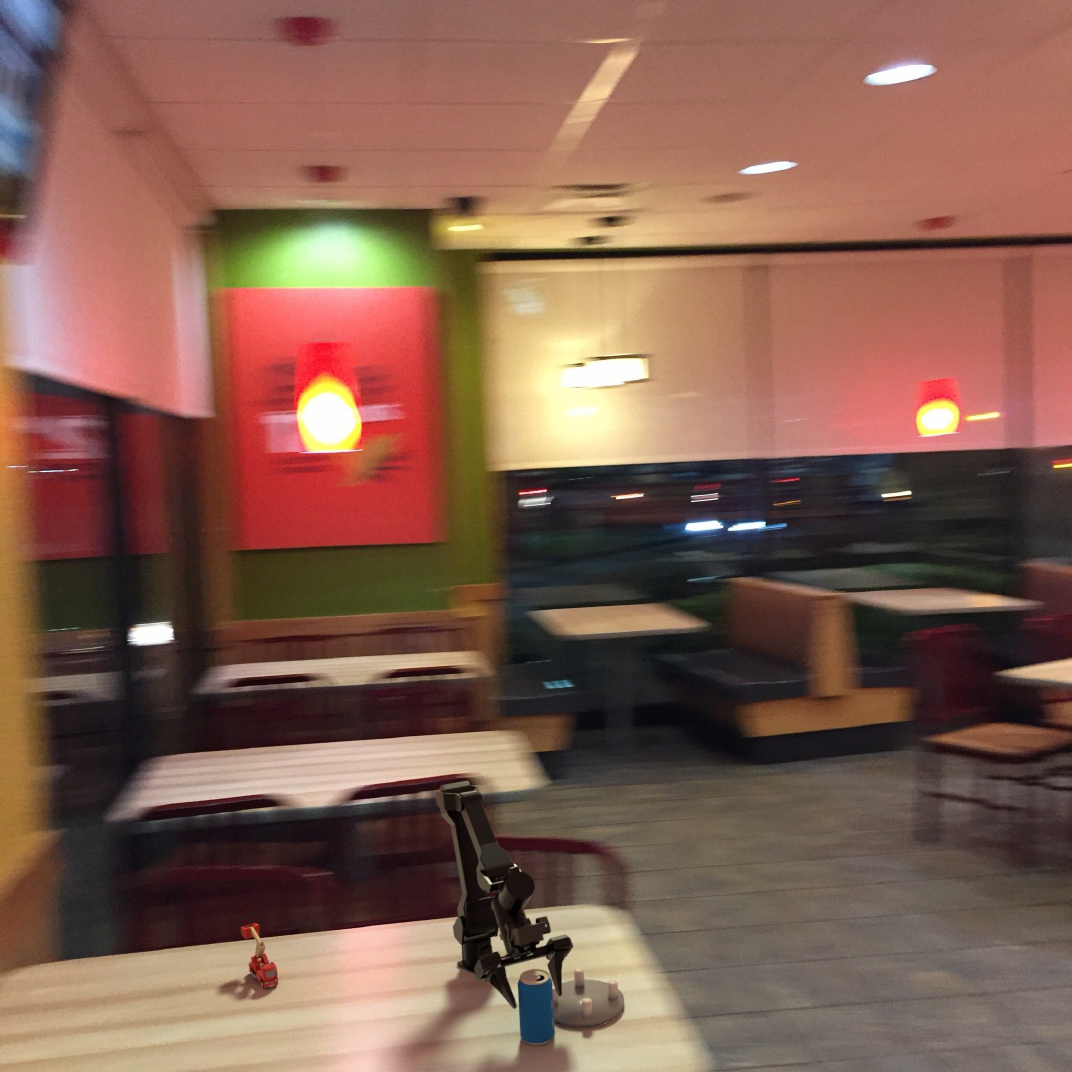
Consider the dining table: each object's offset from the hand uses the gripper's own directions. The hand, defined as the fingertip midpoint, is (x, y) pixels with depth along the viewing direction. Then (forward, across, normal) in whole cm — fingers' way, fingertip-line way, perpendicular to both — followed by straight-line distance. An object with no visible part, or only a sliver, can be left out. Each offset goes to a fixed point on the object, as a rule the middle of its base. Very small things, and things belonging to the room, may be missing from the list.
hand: (538, 1001), depth 194 cm
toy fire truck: (-31, -43, +42) cm, 68 cm away
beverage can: (+5, 0, +6) cm, 8 cm away
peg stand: (0, +13, +10) cm, 16 cm away
